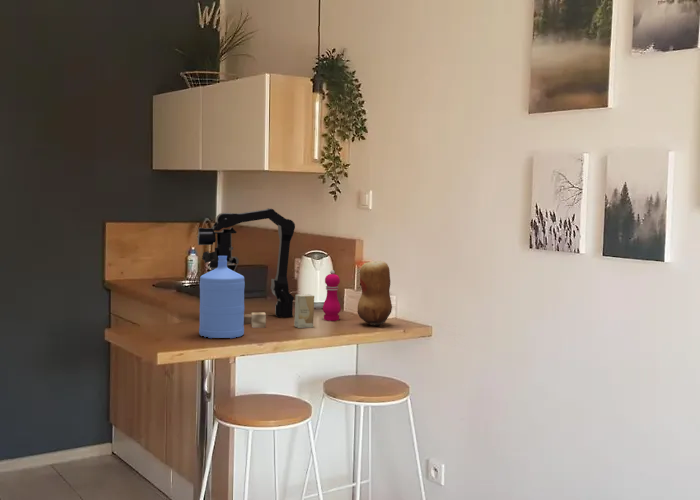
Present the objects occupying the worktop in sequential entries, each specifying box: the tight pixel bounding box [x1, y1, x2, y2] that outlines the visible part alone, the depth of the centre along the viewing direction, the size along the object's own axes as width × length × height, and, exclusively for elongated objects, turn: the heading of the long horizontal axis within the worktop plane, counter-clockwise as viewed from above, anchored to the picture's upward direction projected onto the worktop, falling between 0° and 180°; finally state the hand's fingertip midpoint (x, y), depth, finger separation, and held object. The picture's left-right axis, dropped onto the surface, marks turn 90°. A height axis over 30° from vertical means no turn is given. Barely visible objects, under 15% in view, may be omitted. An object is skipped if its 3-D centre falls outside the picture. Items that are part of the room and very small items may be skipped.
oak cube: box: [251, 311, 267, 329], centre depth 296 cm, size 5×5×5 cm
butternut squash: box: [356, 260, 393, 326], centre depth 304 cm, size 14×13×25 cm
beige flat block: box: [244, 313, 252, 325], centre depth 304 cm, size 7×7×3 cm
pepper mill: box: [322, 269, 342, 322], centre depth 314 cm, size 7×7×20 cm
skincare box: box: [293, 293, 315, 329], centre depth 297 cm, size 6×4×12 cm
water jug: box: [198, 256, 246, 339], centre depth 276 cm, size 16×16×28 cm
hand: (224, 283), depth 313 cm, fingers open, 9 cm apart
